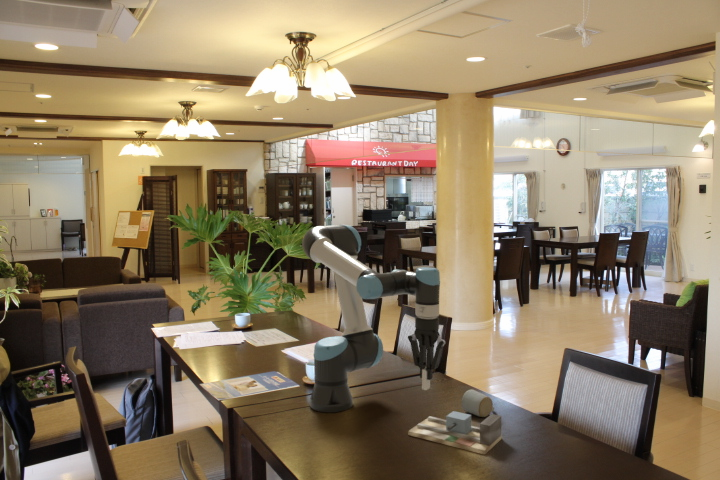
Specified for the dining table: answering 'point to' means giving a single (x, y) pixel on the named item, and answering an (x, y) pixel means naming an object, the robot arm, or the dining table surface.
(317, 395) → the robot arm
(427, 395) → the dining table surface
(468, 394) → the ceramic mug
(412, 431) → the gauge base
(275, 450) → the dining table surface
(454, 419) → the carriage
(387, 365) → the dining table surface
